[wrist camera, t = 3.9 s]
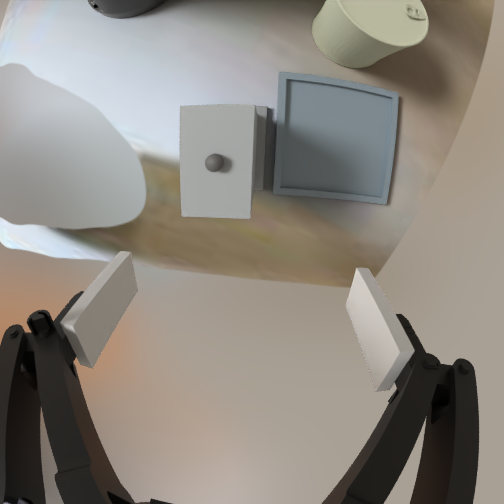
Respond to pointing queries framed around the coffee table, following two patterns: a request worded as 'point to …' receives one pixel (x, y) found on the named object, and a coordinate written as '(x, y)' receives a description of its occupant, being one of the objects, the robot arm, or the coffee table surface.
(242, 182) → the box
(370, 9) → the can
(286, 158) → the tray
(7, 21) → the coffee table surface
